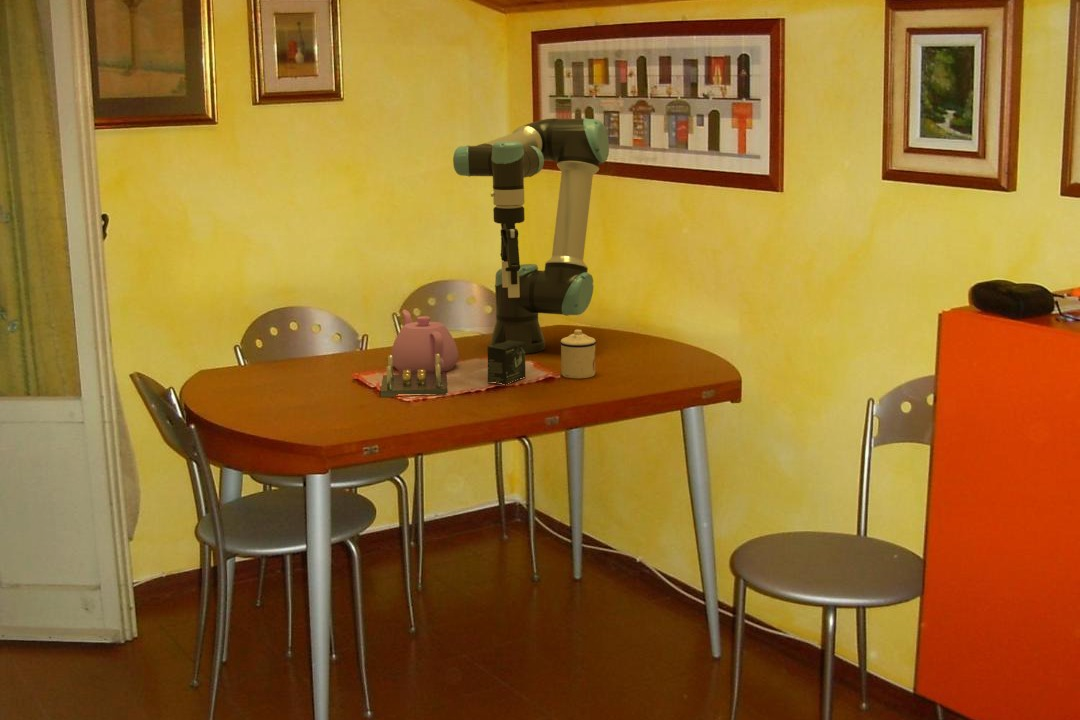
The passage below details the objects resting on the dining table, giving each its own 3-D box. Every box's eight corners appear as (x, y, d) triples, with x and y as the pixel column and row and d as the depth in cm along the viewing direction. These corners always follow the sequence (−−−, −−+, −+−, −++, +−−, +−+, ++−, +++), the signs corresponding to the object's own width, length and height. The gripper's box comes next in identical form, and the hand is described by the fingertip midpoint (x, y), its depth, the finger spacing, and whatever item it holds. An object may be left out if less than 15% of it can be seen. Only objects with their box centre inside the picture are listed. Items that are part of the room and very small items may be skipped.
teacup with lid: (601, 377, 335) (601, 332, 332) (568, 380, 332) (567, 335, 329) (583, 367, 346) (583, 323, 343) (551, 370, 342) (550, 326, 340)
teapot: (474, 372, 342) (473, 320, 339) (411, 381, 333) (408, 328, 330) (434, 354, 363) (433, 305, 360) (374, 362, 355) (372, 311, 352)
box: (505, 386, 327) (504, 348, 325) (487, 383, 330) (486, 346, 328) (526, 378, 335) (525, 341, 332) (508, 375, 338) (507, 339, 335)
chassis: (383, 380, 334) (382, 353, 332) (446, 378, 335) (446, 351, 334) (380, 397, 318) (379, 368, 317) (447, 394, 320) (446, 366, 318)
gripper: (488, 200, 333) (490, 283, 338) (498, 213, 309) (500, 302, 314) (518, 199, 334) (519, 282, 339) (530, 211, 310) (532, 301, 315)
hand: (510, 292), depth 327 cm, fingers open, 13 cm apart
